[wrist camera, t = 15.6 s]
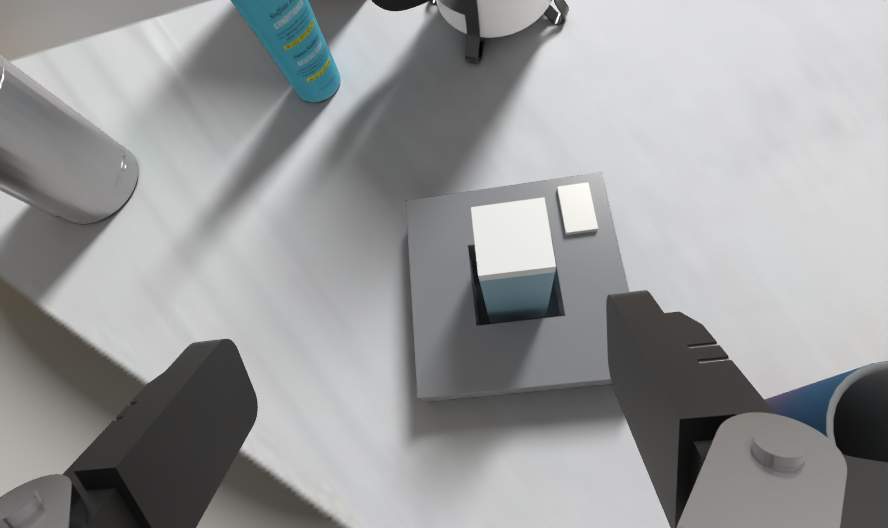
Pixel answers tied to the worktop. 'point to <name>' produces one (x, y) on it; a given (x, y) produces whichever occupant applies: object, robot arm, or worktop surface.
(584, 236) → the socket
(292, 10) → the tube
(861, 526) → the robot arm
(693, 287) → the worktop surface
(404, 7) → the coffee press
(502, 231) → the white-topped blue pillar
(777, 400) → the cup
